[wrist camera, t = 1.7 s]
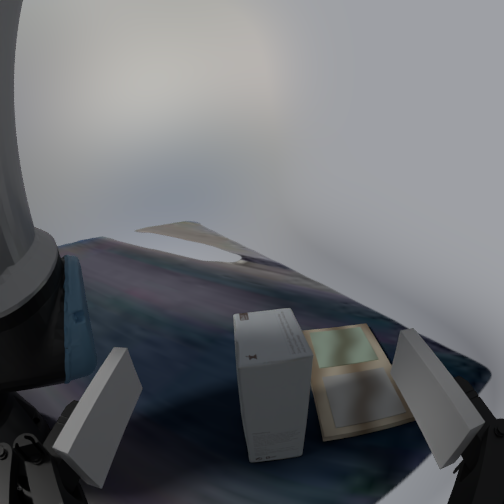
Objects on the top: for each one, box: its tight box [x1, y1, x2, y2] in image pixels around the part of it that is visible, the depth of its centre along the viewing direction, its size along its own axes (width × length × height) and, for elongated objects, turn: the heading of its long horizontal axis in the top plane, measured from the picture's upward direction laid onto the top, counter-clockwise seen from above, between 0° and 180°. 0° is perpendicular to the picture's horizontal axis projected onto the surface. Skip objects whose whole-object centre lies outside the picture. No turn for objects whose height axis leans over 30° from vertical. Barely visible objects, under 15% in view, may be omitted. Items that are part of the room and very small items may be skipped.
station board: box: [302, 324, 415, 441], centre depth 35 cm, size 12×22×1 cm, turn 179°
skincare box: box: [233, 308, 314, 462], centre depth 25 cm, size 8×6×15 cm
